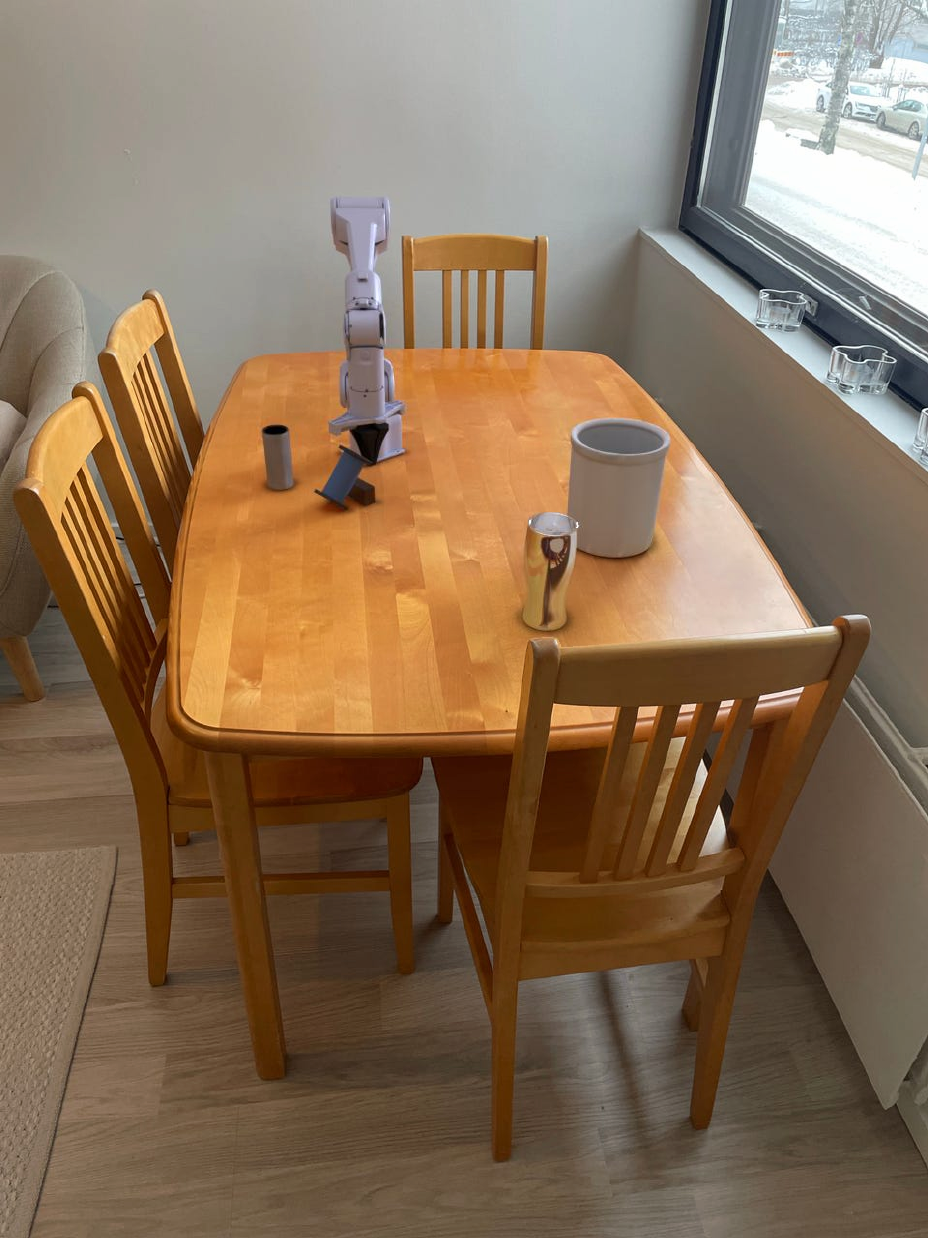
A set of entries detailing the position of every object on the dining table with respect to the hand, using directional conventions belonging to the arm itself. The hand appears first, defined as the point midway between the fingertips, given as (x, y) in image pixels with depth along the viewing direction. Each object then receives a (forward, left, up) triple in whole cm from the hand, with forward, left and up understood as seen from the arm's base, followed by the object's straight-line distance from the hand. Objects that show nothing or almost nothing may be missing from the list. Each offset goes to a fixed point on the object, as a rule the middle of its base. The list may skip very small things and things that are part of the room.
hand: (369, 463), depth 155 cm
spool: (+6, 0, -1) cm, 6 cm away
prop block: (+3, 0, -6) cm, 6 cm away
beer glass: (+6, +46, -6) cm, 47 cm away
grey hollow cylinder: (+10, -13, -6) cm, 17 cm away
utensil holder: (-19, +37, -6) cm, 42 cm away
